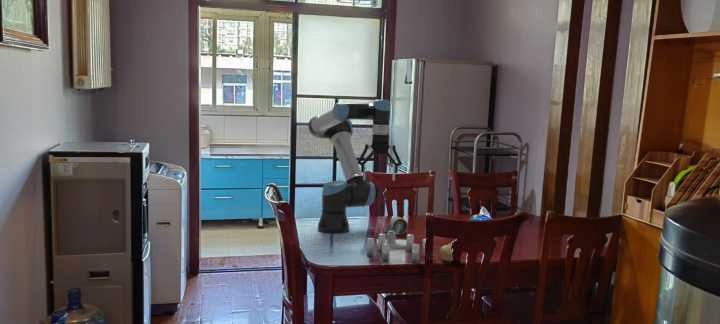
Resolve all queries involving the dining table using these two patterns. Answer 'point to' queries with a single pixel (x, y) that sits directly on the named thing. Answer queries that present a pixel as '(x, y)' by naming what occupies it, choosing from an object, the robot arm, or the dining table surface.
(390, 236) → the lighter
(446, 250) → the onion
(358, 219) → the dining table surface
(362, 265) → the dining table surface
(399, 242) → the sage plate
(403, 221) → the ceramic mug
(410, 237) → the spacer posts
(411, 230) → the dining table surface
